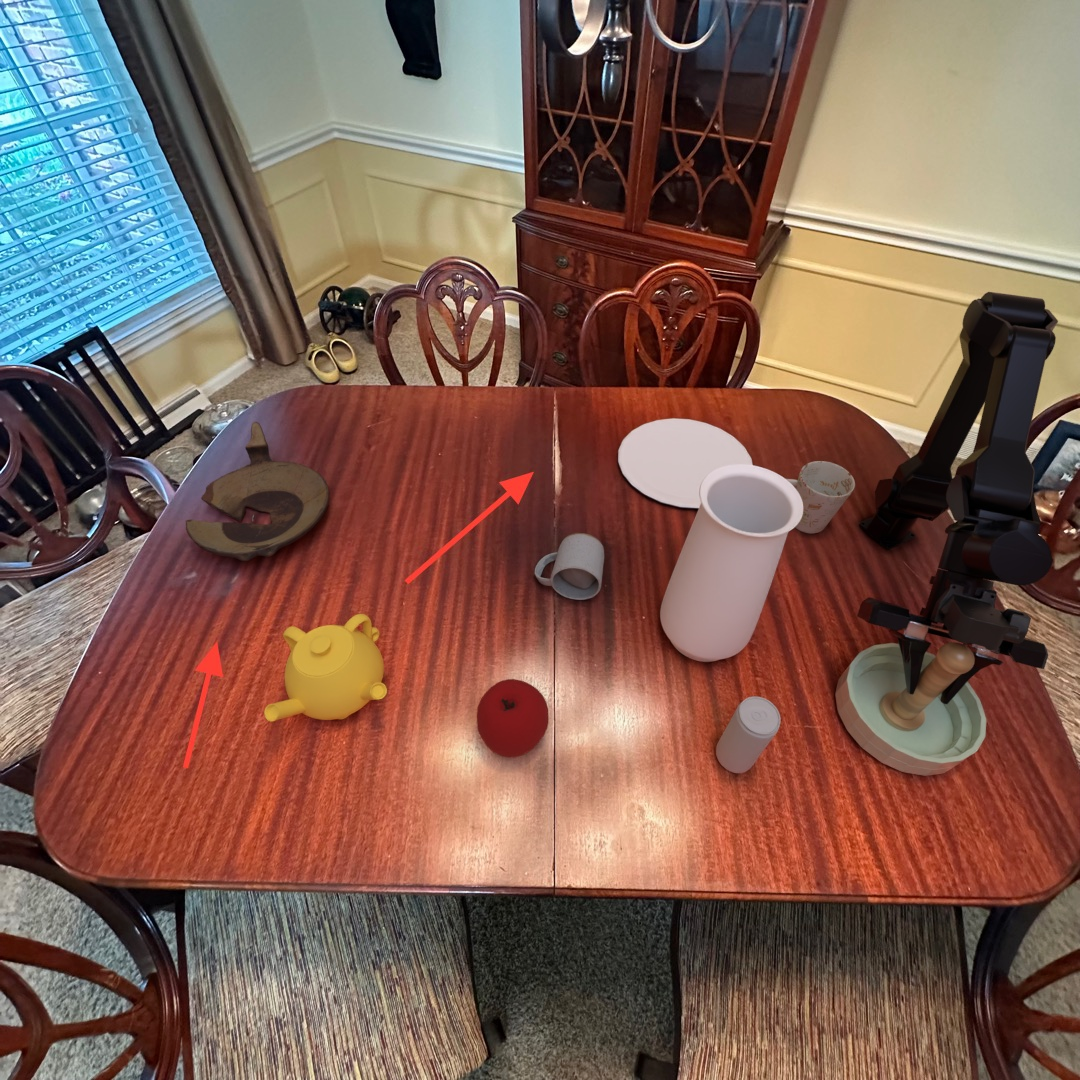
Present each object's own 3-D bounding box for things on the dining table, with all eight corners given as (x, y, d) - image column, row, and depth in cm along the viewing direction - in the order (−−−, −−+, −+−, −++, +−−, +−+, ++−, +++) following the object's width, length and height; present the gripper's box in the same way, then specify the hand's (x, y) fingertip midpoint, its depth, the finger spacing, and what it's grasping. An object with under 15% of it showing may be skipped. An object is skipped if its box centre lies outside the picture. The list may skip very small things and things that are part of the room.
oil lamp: (172, 575, 96) (148, 543, 90) (246, 451, 115) (231, 419, 110) (309, 583, 95) (294, 552, 89) (360, 457, 114) (351, 425, 108)
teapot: (285, 748, 77) (254, 710, 69) (289, 657, 86) (262, 613, 77) (398, 724, 79) (382, 684, 71) (391, 638, 88) (376, 593, 80)
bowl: (894, 645, 87) (910, 626, 83) (992, 744, 77) (1016, 727, 74) (807, 689, 82) (820, 671, 79) (900, 800, 73) (920, 785, 69)
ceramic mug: (604, 562, 97) (607, 530, 91) (599, 603, 92) (602, 572, 86) (539, 555, 98) (538, 523, 93) (531, 595, 93) (529, 564, 87)
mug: (834, 542, 100) (858, 499, 92) (757, 531, 102) (774, 488, 94) (829, 507, 105) (851, 464, 98) (755, 497, 107) (772, 454, 99)
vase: (693, 687, 83) (745, 558, 62) (639, 618, 90) (669, 481, 69) (764, 647, 87) (837, 514, 66) (707, 584, 94) (755, 446, 73)
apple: (542, 772, 75) (542, 740, 68) (471, 761, 76) (464, 727, 69) (553, 704, 81) (554, 667, 74) (487, 694, 82) (482, 657, 75)
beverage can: (710, 739, 78) (732, 696, 69) (746, 736, 78) (773, 693, 69) (720, 776, 75) (745, 737, 66) (758, 773, 75) (788, 733, 66)
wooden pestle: (887, 687, 82) (945, 622, 70) (926, 710, 80) (994, 647, 68) (873, 715, 79) (932, 652, 67) (914, 739, 77) (982, 679, 65)
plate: (733, 421, 121) (735, 416, 120) (768, 510, 105) (771, 505, 104) (610, 423, 121) (610, 418, 120) (626, 513, 104) (627, 508, 103)
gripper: (905, 559, 66) (864, 693, 67) (1100, 606, 62) (1052, 748, 63) (874, 553, 77) (839, 669, 78) (1038, 593, 73) (999, 714, 74)
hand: (926, 698), depth 73 cm, fingers open, 3 cm apart
